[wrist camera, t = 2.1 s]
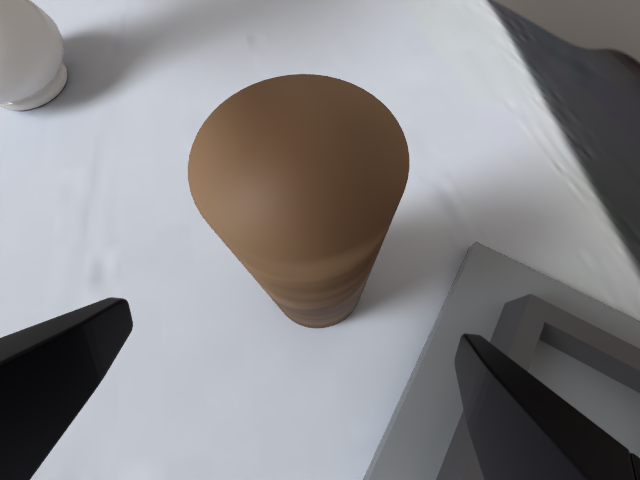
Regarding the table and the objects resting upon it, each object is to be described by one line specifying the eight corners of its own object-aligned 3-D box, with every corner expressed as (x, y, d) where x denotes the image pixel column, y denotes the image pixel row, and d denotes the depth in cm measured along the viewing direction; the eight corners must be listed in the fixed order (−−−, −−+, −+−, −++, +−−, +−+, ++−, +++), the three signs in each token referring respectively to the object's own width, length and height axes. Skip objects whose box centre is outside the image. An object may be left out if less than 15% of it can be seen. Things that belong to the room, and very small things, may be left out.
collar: (714, 780, 12) (853, 930, 9) (349, 510, 16) (354, 547, 12) (754, 388, 17) (854, 393, 14) (469, 247, 21) (495, 224, 17)
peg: (316, 348, 19) (289, 312, 6) (256, 282, 20) (145, 155, 8) (379, 283, 20) (456, 154, 8) (318, 226, 21) (303, 46, 9)
